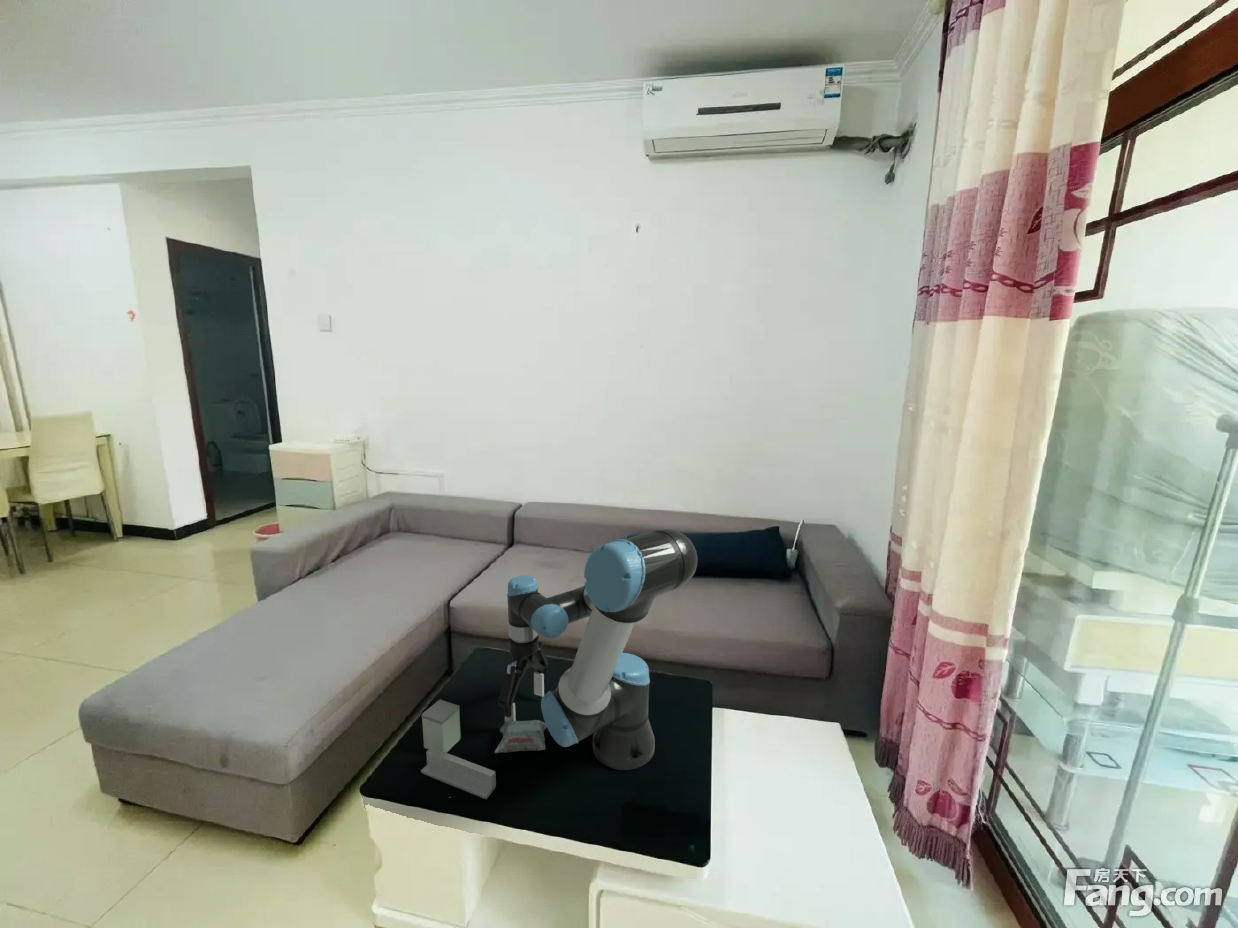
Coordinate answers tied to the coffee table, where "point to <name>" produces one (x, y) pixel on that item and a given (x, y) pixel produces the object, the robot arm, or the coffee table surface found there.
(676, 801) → the coffee table surface
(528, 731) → the packaged food
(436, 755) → the rail
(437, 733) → the tea tin
